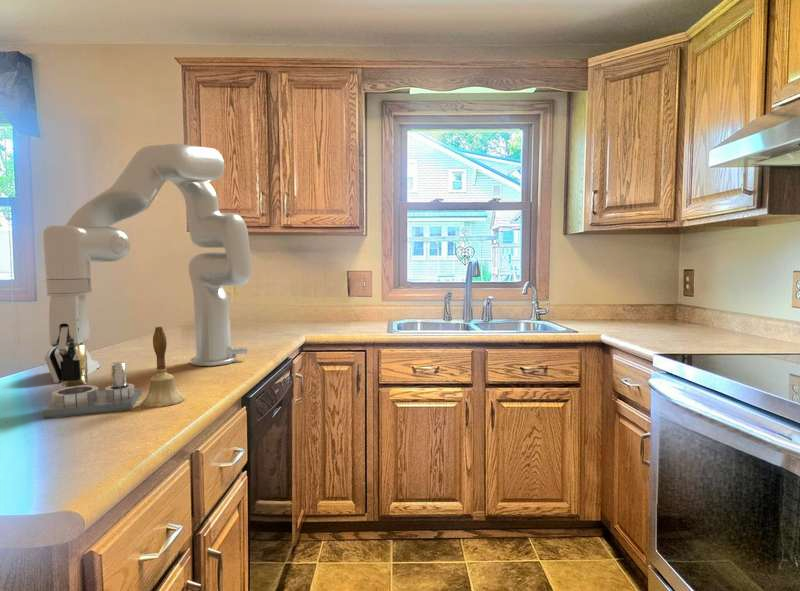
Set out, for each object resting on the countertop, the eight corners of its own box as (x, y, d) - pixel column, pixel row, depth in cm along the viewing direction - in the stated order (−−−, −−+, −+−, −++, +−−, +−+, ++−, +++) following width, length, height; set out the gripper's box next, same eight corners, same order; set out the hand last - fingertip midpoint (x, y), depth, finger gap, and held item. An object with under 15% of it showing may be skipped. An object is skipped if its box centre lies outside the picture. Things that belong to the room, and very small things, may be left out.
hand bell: (141, 409, 100) (137, 331, 99) (141, 399, 108) (137, 325, 106) (186, 403, 104) (183, 327, 103) (183, 394, 112) (180, 323, 110)
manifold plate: (141, 394, 112) (139, 356, 111) (131, 409, 100) (129, 368, 100) (62, 401, 107) (60, 361, 106) (43, 418, 95) (40, 374, 95)
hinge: (76, 381, 124) (59, 344, 122) (57, 389, 123) (38, 352, 121) (101, 367, 140) (85, 334, 138) (83, 373, 139) (67, 340, 137)
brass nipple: (90, 380, 105) (88, 342, 104) (84, 385, 101) (82, 346, 100) (65, 382, 103) (63, 344, 103) (59, 387, 99) (56, 347, 99)
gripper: (60, 286, 107) (66, 370, 109) (31, 291, 91) (38, 389, 93) (100, 285, 110) (105, 367, 111) (79, 290, 94) (85, 385, 95)
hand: (74, 376), depth 102 cm, fingers closed on brass nipple, 4 cm apart
